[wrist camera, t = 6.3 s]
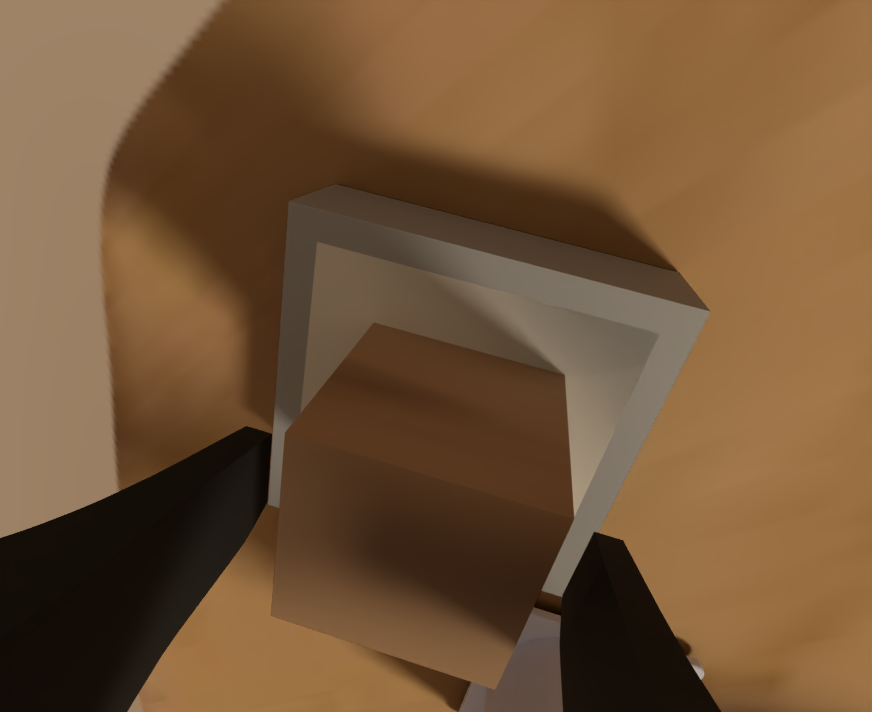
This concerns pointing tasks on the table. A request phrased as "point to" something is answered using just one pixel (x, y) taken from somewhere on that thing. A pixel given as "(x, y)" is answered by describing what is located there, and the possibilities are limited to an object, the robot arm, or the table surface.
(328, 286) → the grey plinth
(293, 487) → the walnut cube
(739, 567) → the table surface
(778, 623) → the table surface
